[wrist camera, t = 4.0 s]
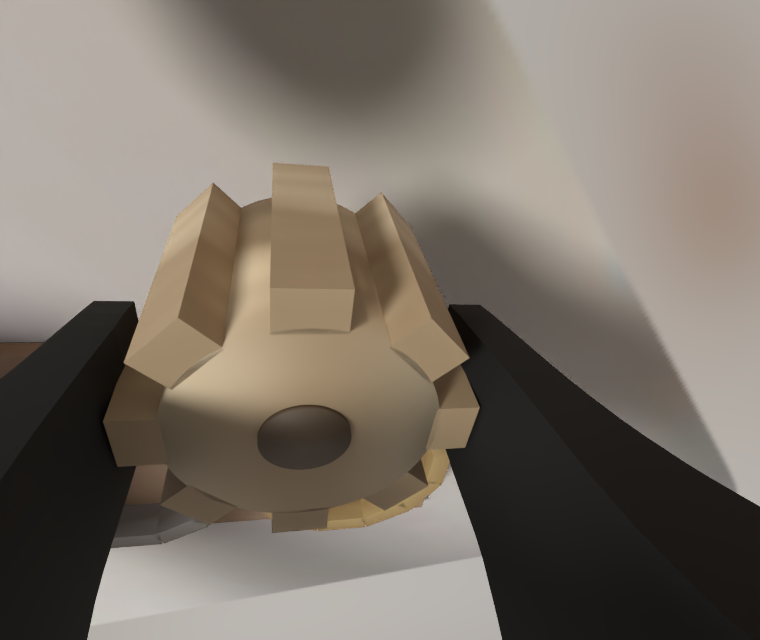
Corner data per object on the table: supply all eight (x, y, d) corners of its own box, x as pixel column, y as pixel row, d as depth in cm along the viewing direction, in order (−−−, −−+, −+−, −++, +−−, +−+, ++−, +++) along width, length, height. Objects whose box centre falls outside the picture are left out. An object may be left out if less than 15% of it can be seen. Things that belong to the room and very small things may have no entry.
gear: (178, 380, 12) (141, 549, 8) (141, 154, 8) (55, 290, 5) (399, 375, 13) (440, 523, 9) (442, 174, 9) (525, 296, 6)
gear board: (44, 524, 23) (26, 569, 21) (-52, 343, 16) (-90, 389, 14) (419, 496, 26) (428, 534, 25) (467, 340, 20) (484, 377, 18)
